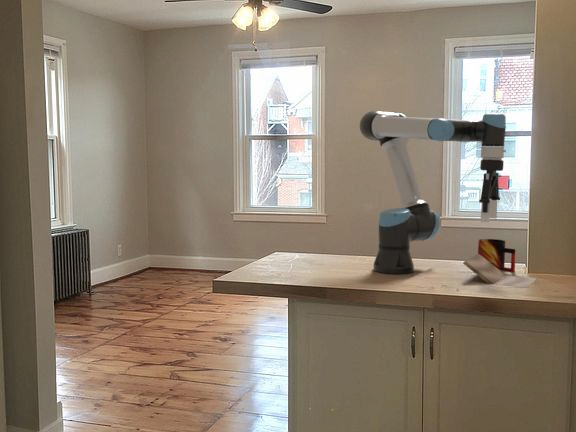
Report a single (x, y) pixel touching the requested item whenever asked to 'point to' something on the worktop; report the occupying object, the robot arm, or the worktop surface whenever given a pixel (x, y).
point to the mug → (496, 253)
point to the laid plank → (516, 281)
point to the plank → (484, 269)
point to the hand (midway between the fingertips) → (488, 220)
